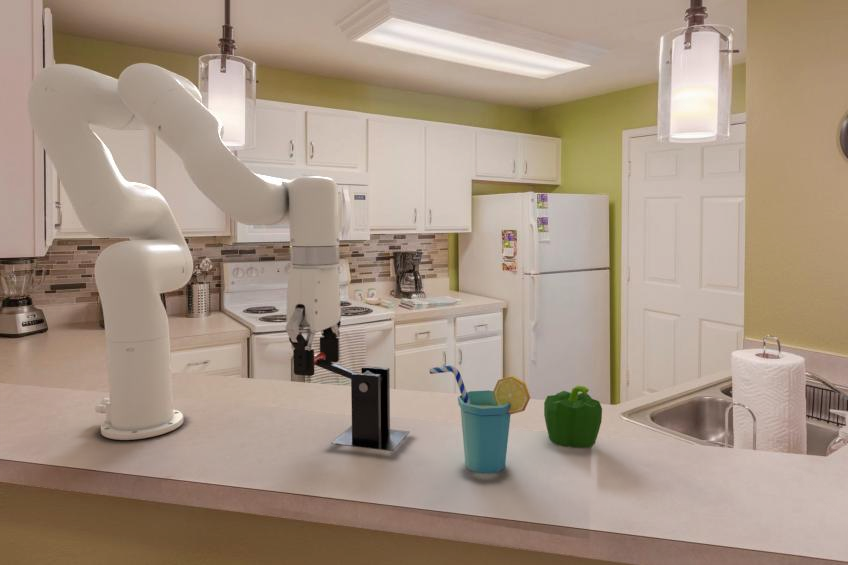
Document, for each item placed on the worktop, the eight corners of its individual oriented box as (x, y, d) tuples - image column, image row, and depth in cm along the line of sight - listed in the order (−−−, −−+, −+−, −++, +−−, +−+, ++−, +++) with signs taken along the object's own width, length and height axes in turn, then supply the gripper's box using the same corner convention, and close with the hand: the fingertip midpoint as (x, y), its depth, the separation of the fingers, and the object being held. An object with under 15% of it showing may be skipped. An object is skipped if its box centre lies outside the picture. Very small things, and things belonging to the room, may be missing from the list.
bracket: (331, 450, 87) (329, 375, 86) (352, 432, 95) (351, 362, 94) (392, 458, 84) (392, 380, 83) (409, 438, 92) (409, 366, 91)
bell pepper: (535, 438, 92) (536, 377, 91) (582, 434, 94) (584, 374, 93) (558, 459, 84) (560, 393, 83) (609, 455, 85) (611, 389, 84)
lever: (300, 369, 89) (304, 355, 89) (315, 361, 94) (319, 348, 93) (370, 397, 86) (374, 382, 86) (382, 387, 91) (386, 374, 90)
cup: (423, 479, 78) (422, 371, 76) (435, 456, 85) (435, 357, 83) (527, 490, 74) (529, 377, 73) (530, 465, 82) (532, 363, 80)
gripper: (319, 254, 98) (321, 354, 100) (262, 261, 82) (266, 380, 84) (359, 254, 96) (360, 357, 98) (310, 262, 80) (312, 384, 82)
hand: (317, 367), depth 91 cm, fingers open, 8 cm apart
